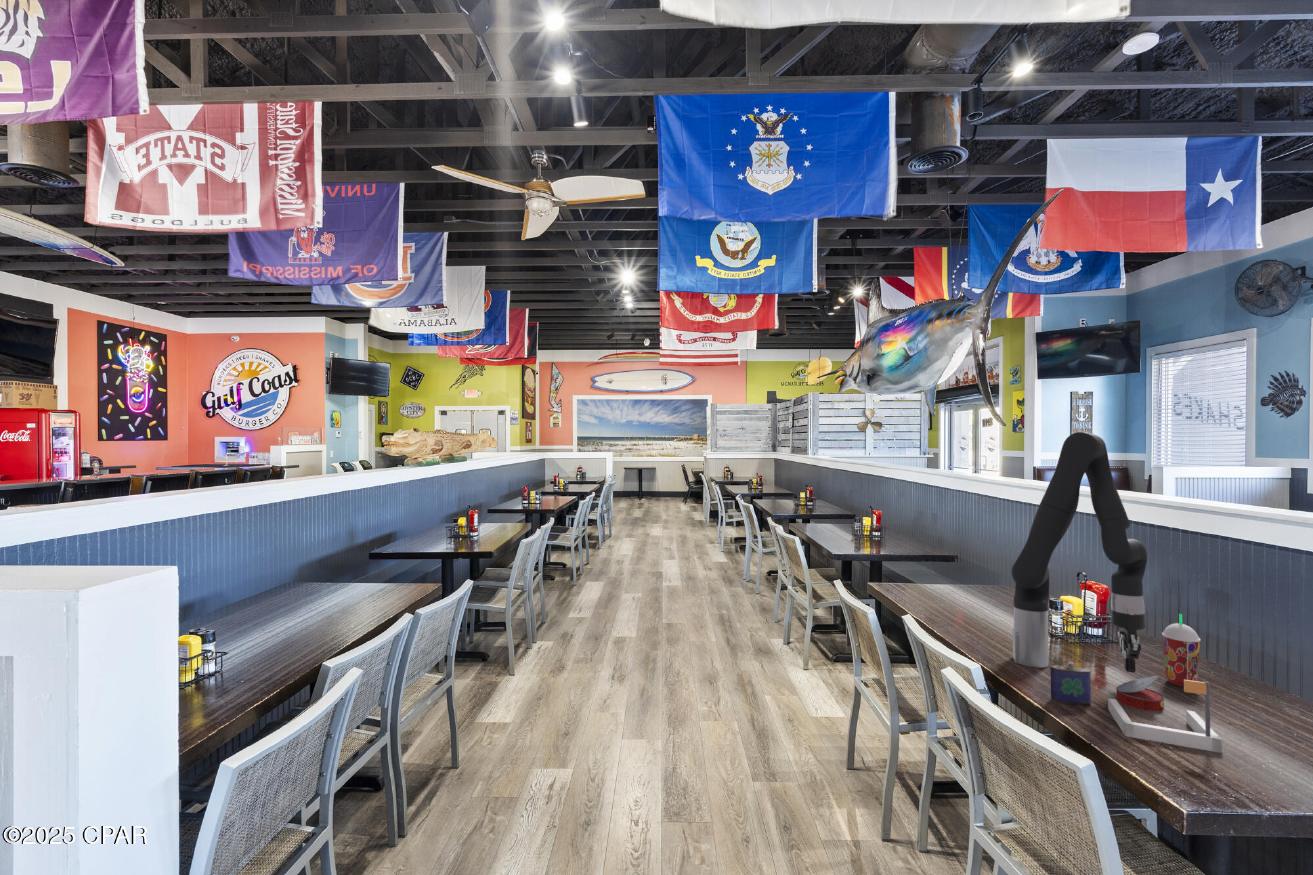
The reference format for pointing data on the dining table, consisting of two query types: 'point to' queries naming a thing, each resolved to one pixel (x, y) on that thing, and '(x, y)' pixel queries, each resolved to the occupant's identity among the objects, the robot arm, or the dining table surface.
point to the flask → (1070, 685)
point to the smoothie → (1181, 653)
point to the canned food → (1140, 695)
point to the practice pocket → (1197, 739)
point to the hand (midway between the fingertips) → (1129, 671)
